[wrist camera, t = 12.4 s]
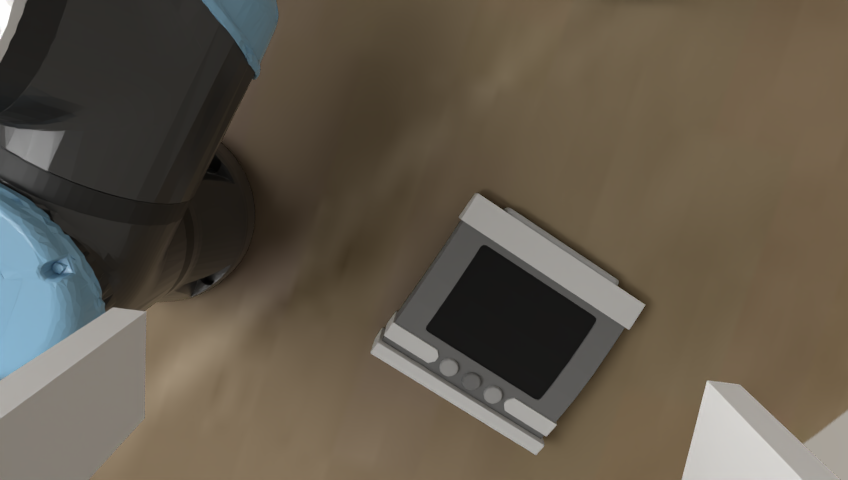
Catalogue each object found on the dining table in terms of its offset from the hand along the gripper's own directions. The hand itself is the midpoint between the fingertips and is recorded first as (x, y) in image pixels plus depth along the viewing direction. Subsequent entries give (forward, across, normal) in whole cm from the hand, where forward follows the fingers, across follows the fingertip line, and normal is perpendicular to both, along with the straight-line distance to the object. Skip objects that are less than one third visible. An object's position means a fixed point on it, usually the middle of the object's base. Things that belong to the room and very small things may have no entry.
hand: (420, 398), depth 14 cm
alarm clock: (+38, +8, -11) cm, 40 cm away
